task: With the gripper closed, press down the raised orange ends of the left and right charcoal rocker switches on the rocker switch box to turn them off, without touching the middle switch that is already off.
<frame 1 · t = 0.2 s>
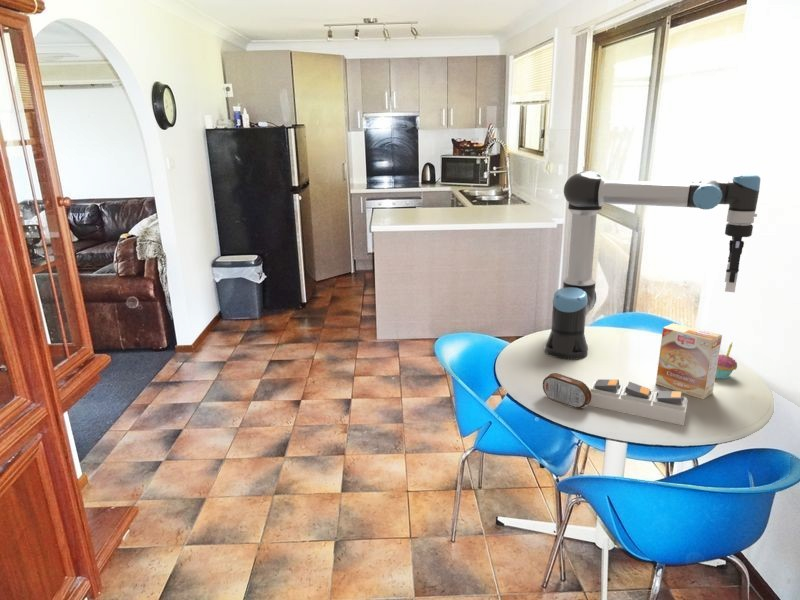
hand: (729, 286, 185), 28 cm above the table, tool pointing down, fingers open, 13 cm apart
coffeecake box: (683, 389, 174), on the table
rocker middle: (637, 390, 161), point 6 cm above the table, hinge at 12.0°
rocker left: (607, 384, 165), point 6 cm above the table, hinge at -12.0°
cupcake: (720, 376, 183), on the table
tin: (564, 404, 166), on the table
rocker switch box: (635, 408, 162), on the table
rocker right: (669, 396, 157), point 6 cm above the table, hinge at -12.0°
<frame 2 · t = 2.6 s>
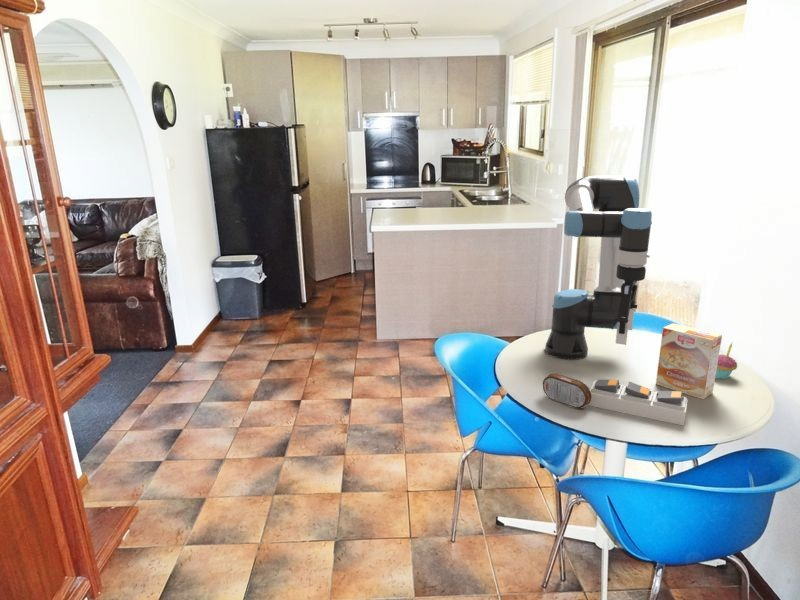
hand: (624, 336, 160), 21 cm above the table, tool pointing down, fingers open, 13 cm apart
nothing on the table moved.
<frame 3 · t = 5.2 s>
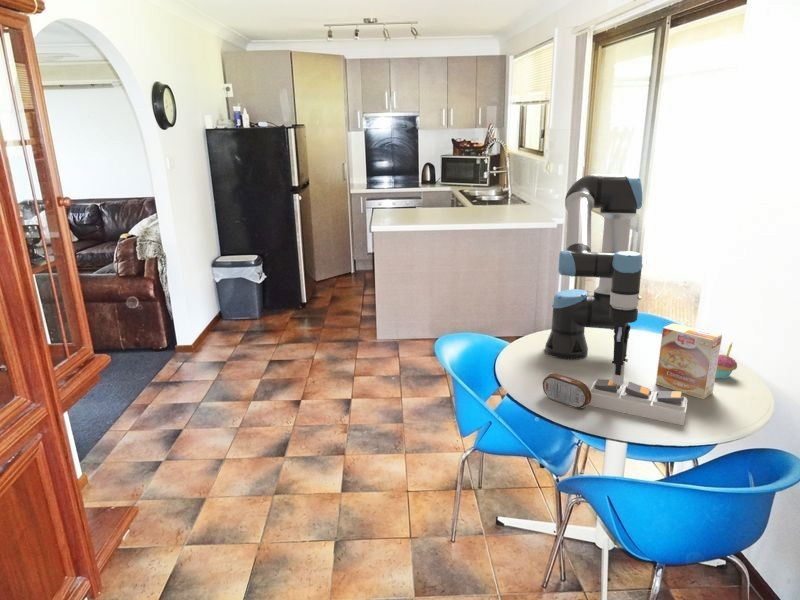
hand: (617, 383, 163), 7 cm above the table, tool pointing down, fingers closed, pressing on rocker left
rocker left: (607, 384, 165), point 6 cm above the table, hinge at -8.7°, touching gripper
everything else where it was.
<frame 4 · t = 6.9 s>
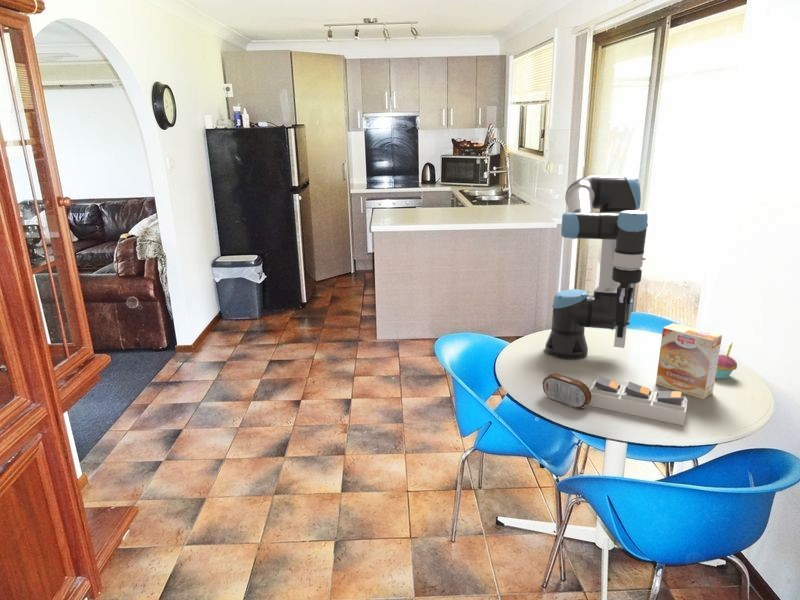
hand: (619, 346, 160), 18 cm above the table, tool pointing down, fingers closed
rocker left: (607, 384, 165), point 6 cm above the table, hinge at 13.2°
everything else where it was.
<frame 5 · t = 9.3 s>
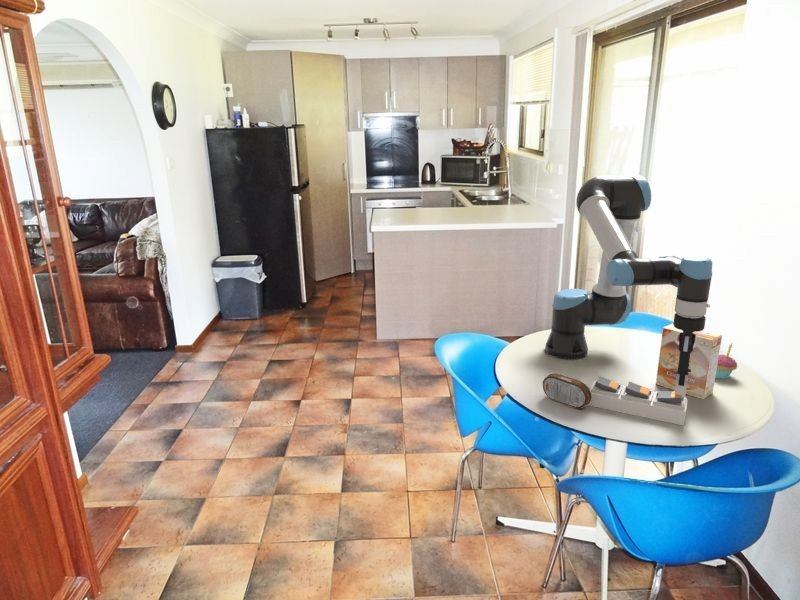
hand: (680, 394, 155), 7 cm above the table, tool pointing down, fingers closed
rocker left: (607, 384, 165), point 6 cm above the table, hinge at 13.6°
rocker right: (669, 396, 157), point 6 cm above the table, hinge at -11.4°, touching gripper
everything else where it was.
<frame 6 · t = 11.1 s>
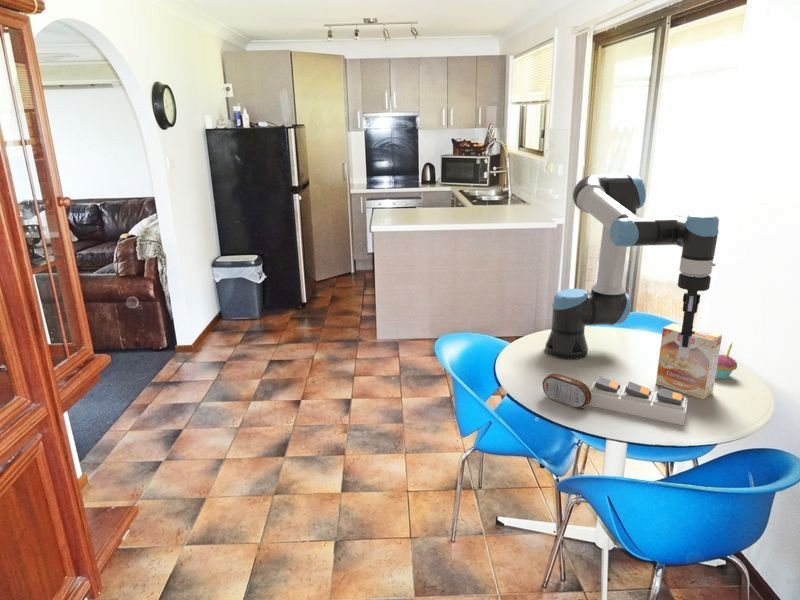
hand: (683, 356, 152), 18 cm above the table, tool pointing down, fingers closed
rocker left: (607, 384, 165), point 6 cm above the table, hinge at 11.6°
rocker right: (669, 396, 157), point 6 cm above the table, hinge at 6.7°
everything else where it was.
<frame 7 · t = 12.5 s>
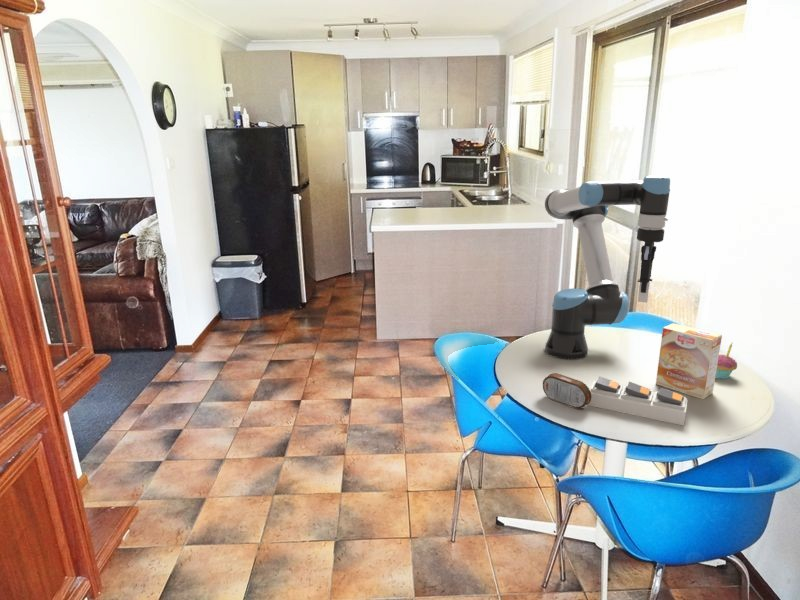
hand: (642, 301, 176), 26 cm above the table, tool pointing down, fingers closed
rocker left: (607, 384, 165), point 6 cm above the table, hinge at 10.8°
rocker right: (669, 396, 157), point 6 cm above the table, hinge at 10.5°
everything else where it was.
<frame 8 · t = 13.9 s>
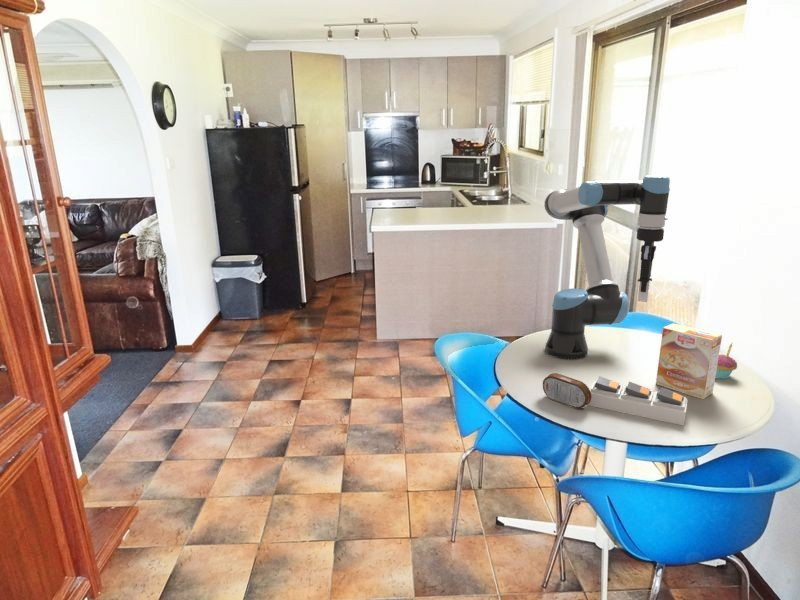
hand: (642, 300, 176), 26 cm above the table, tool pointing down, fingers closed
rocker left: (607, 384, 165), point 6 cm above the table, hinge at 10.3°
rocker right: (669, 396, 157), point 6 cm above the table, hinge at 12.6°
everything else where it was.
at the end: rocker left at +10° (first picture: -12°); rocker right at +13° (first picture: -12°); rocker middle at +12° (first picture: +12°) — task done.
